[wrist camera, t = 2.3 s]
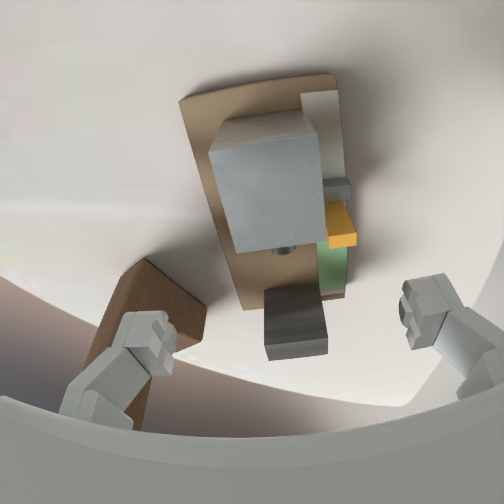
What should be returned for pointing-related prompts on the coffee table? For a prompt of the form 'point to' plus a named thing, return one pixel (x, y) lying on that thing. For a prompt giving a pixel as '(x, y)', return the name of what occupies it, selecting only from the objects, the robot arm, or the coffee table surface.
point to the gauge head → (273, 181)
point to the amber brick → (339, 226)
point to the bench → (265, 261)
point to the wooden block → (148, 299)
